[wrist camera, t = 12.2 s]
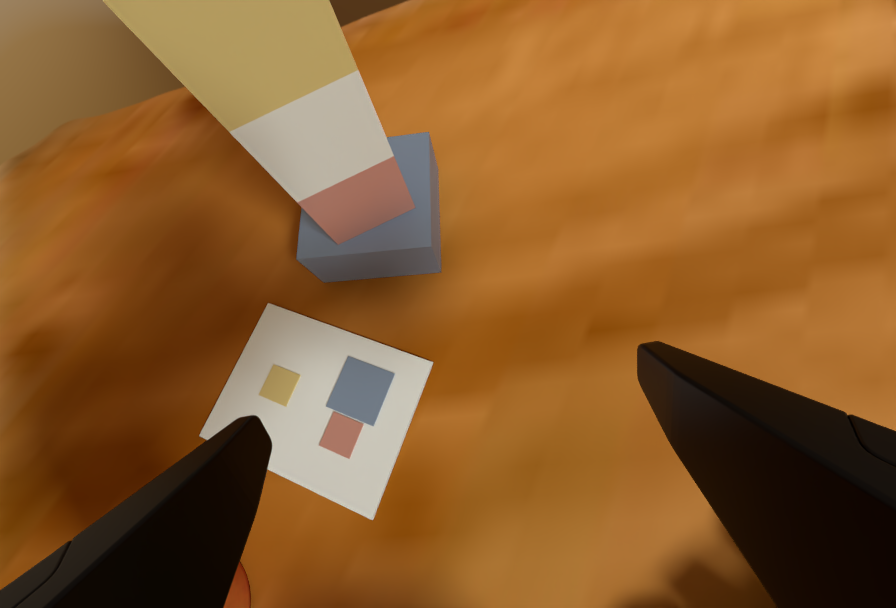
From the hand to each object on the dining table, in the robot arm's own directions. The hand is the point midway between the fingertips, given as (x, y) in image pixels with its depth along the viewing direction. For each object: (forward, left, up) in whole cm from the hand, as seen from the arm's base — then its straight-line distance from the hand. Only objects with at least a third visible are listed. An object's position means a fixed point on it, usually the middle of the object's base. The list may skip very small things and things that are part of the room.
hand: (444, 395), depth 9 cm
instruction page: (+9, +4, -14) cm, 17 cm away
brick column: (+12, -8, -10) cm, 17 cm away
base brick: (+12, -8, -14) cm, 20 cm away
